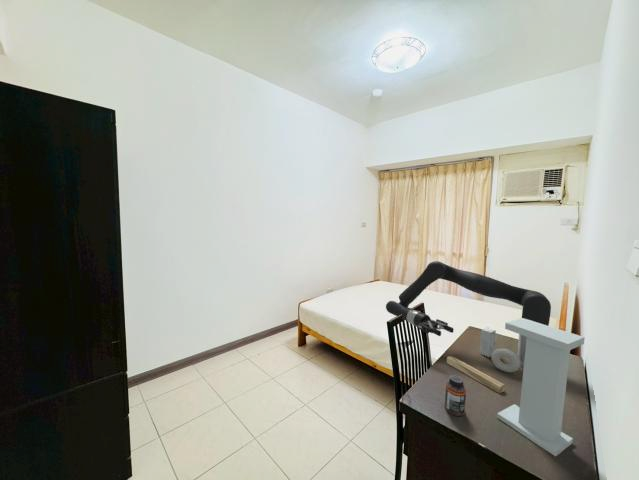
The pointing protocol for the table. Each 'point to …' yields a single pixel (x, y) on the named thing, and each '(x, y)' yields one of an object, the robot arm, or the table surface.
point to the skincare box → (487, 341)
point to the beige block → (476, 374)
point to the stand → (542, 384)
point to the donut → (509, 354)
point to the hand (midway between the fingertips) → (446, 332)
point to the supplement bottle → (455, 396)
